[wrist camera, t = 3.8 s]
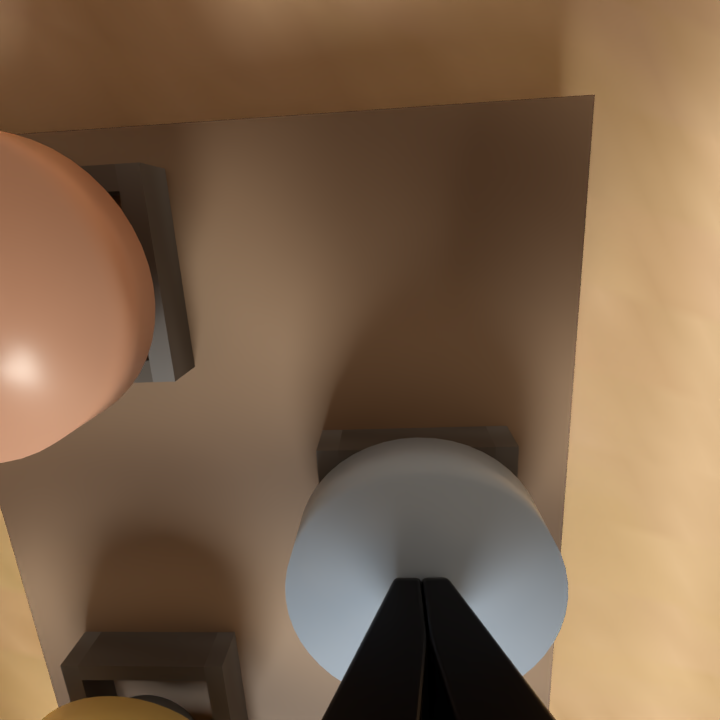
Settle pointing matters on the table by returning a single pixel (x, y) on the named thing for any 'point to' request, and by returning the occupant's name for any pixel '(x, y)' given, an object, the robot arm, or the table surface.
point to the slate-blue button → (423, 548)
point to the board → (297, 375)
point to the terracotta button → (64, 298)
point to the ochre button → (120, 709)
